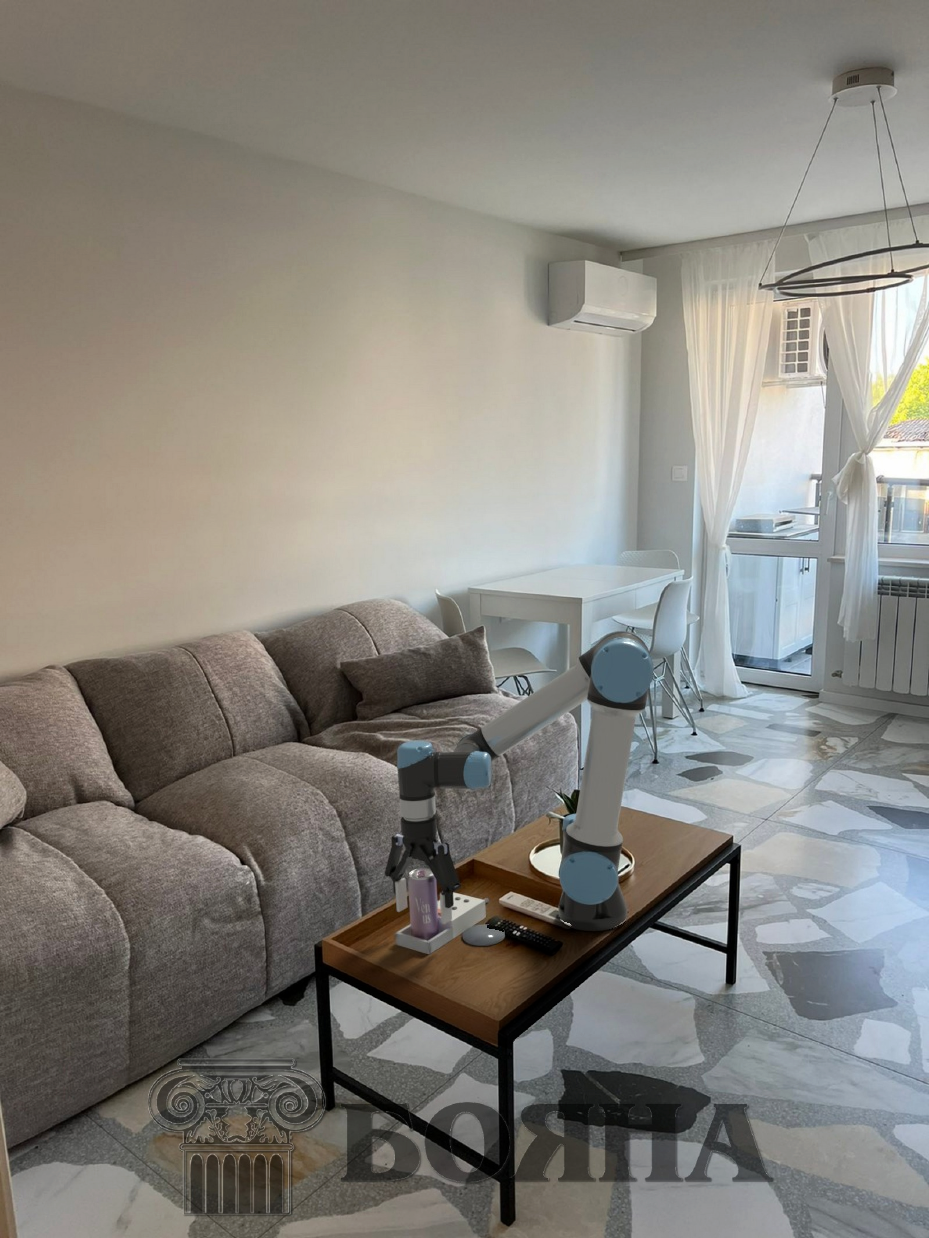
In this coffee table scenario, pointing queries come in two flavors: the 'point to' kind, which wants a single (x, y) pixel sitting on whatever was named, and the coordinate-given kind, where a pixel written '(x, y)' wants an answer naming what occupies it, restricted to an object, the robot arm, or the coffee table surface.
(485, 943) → the coaster
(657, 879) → the coffee table surface
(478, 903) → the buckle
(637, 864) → the coffee table surface
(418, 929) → the beverage can
